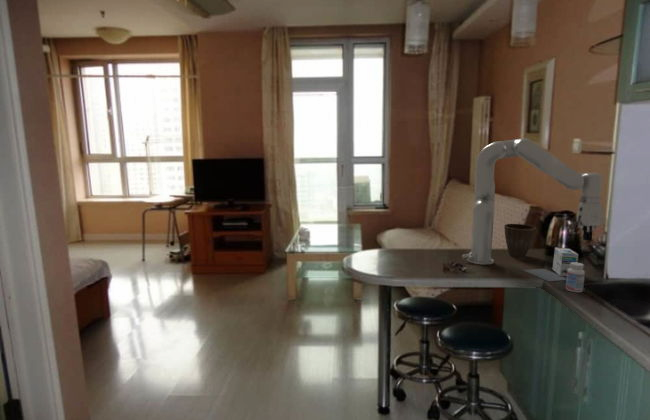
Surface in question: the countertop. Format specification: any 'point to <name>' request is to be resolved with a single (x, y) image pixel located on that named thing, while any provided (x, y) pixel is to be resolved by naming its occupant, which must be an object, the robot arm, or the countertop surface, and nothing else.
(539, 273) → the mat
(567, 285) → the pill bottle
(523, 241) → the plant pot
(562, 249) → the light bulb box
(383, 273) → the countertop surface
